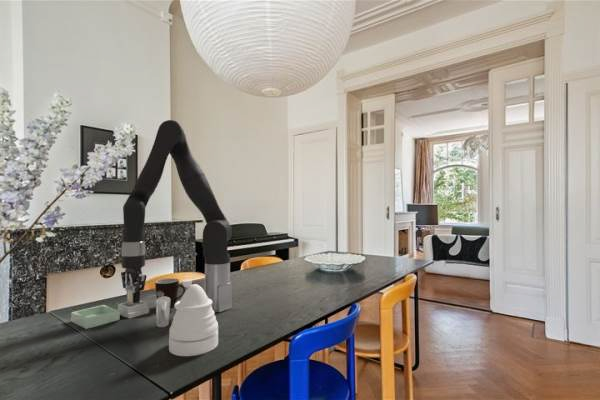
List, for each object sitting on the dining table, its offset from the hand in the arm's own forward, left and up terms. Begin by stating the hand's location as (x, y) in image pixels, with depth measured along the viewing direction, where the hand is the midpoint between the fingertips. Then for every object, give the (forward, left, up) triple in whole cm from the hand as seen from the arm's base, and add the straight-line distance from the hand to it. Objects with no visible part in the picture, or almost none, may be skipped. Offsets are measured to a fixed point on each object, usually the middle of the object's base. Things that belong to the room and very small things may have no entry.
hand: (133, 301), depth 113 cm
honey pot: (-41, +4, -5) cm, 41 cm away
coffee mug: (-5, -11, -5) cm, 13 cm away
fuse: (0, 0, -3) cm, 3 cm away
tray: (+3, +11, -4) cm, 12 cm away
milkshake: (-20, +1, -5) cm, 20 cm away
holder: (0, 0, -4) cm, 4 cm away
